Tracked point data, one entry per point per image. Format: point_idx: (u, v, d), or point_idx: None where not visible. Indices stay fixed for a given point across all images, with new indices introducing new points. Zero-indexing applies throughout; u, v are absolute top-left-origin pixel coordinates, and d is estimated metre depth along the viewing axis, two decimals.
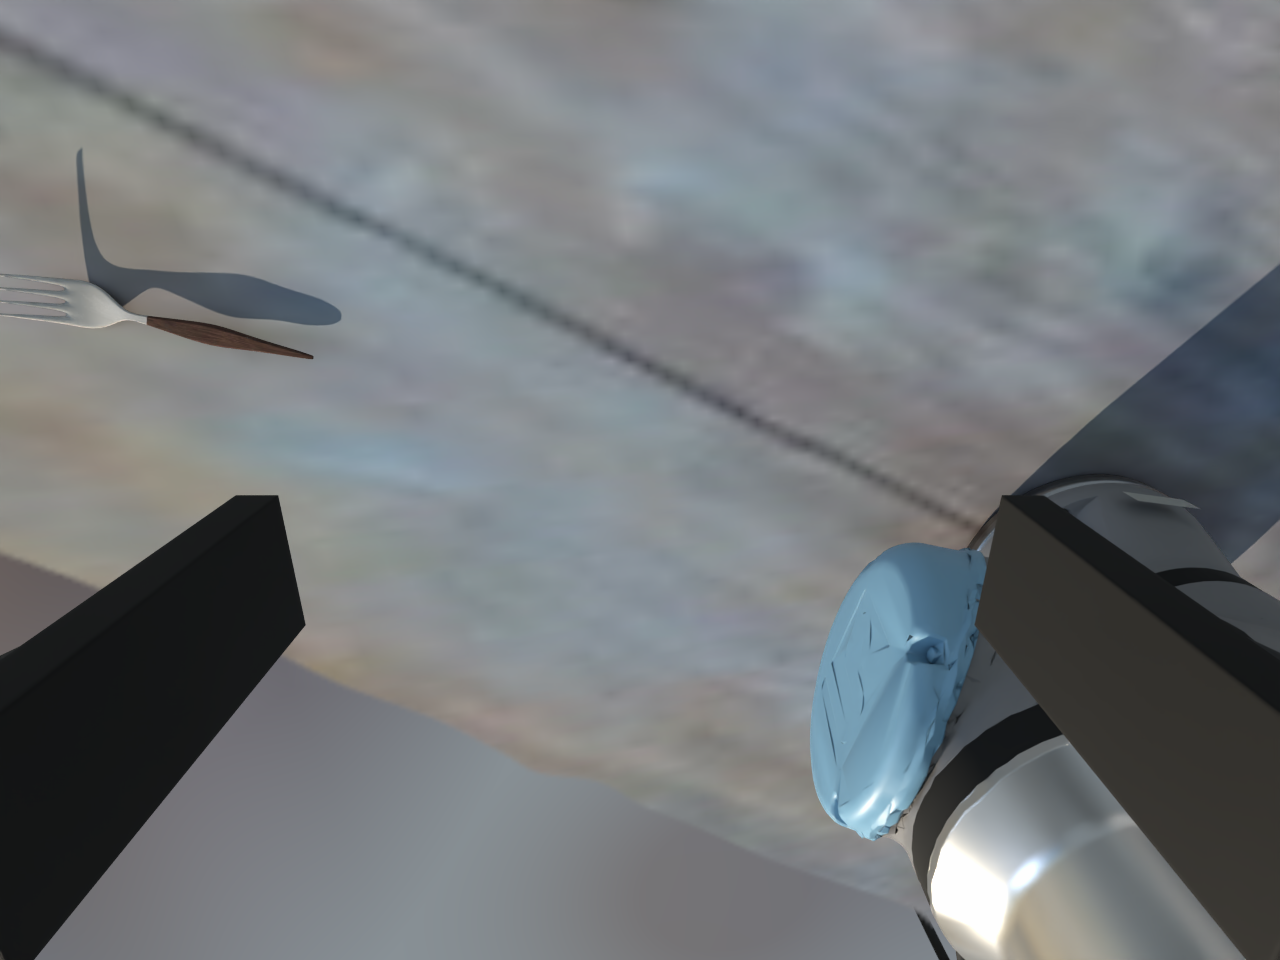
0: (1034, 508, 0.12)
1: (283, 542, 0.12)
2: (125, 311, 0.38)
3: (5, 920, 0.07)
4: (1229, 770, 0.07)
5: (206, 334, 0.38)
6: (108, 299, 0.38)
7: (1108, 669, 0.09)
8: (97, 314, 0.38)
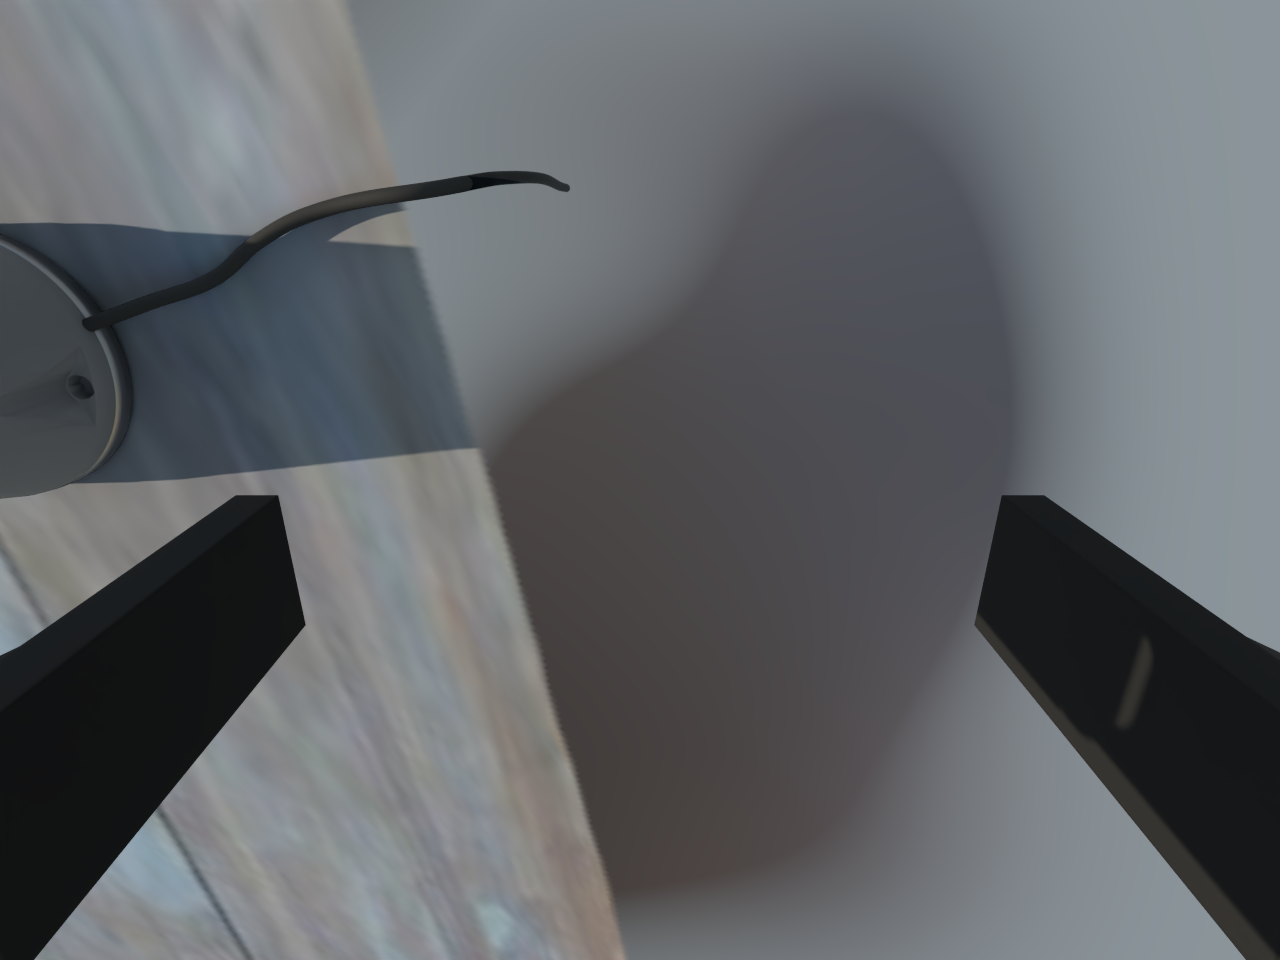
0: (1034, 508, 0.12)
1: (283, 541, 0.12)
2: None
3: (5, 920, 0.07)
4: (1228, 770, 0.07)
5: None
6: None
7: (1108, 669, 0.09)
8: None
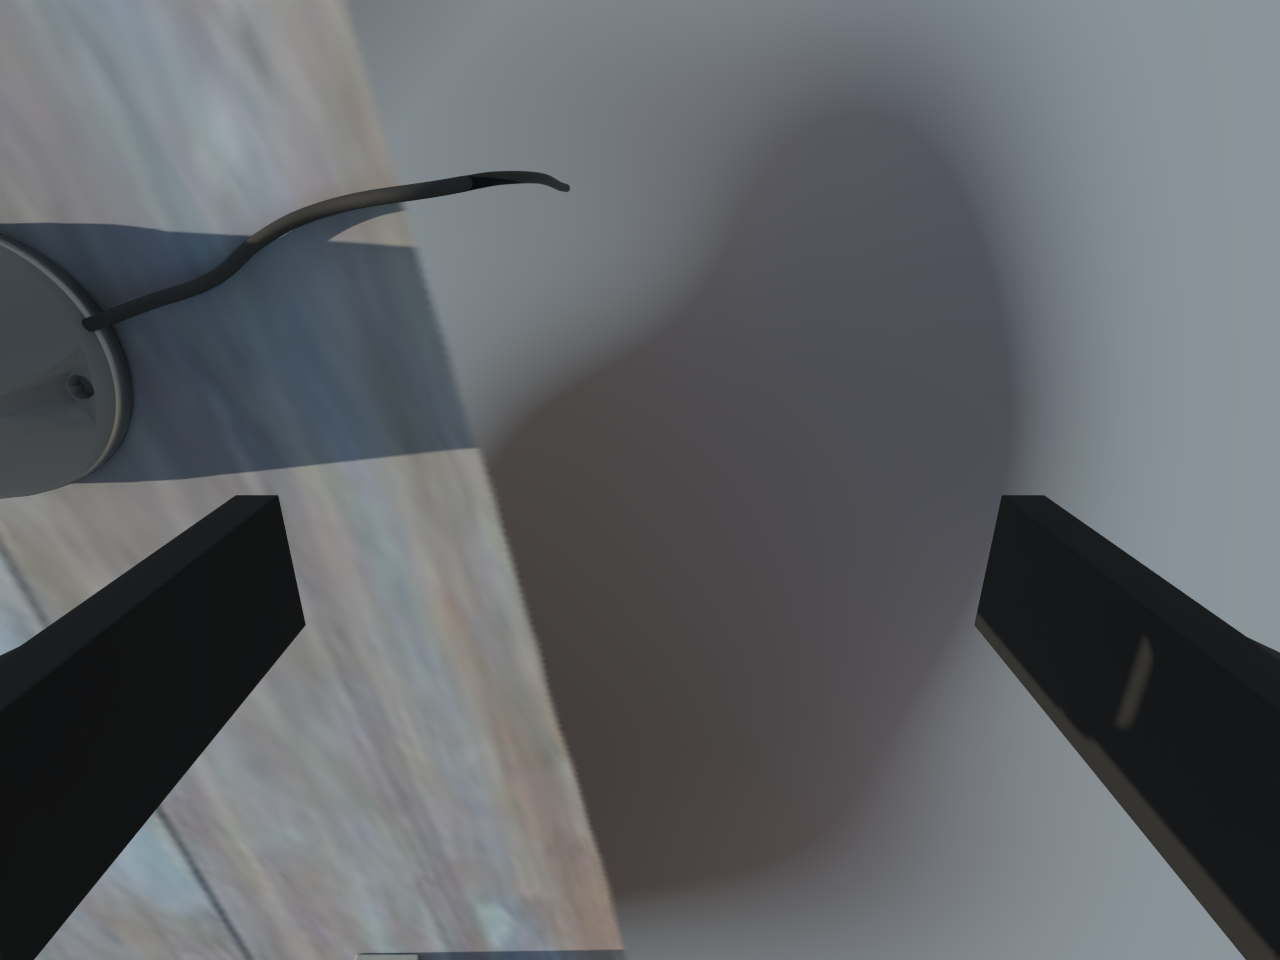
0: (1034, 508, 0.12)
1: (283, 541, 0.12)
2: None
3: (5, 920, 0.07)
4: (1228, 770, 0.07)
5: None
6: None
7: (1108, 669, 0.09)
8: None
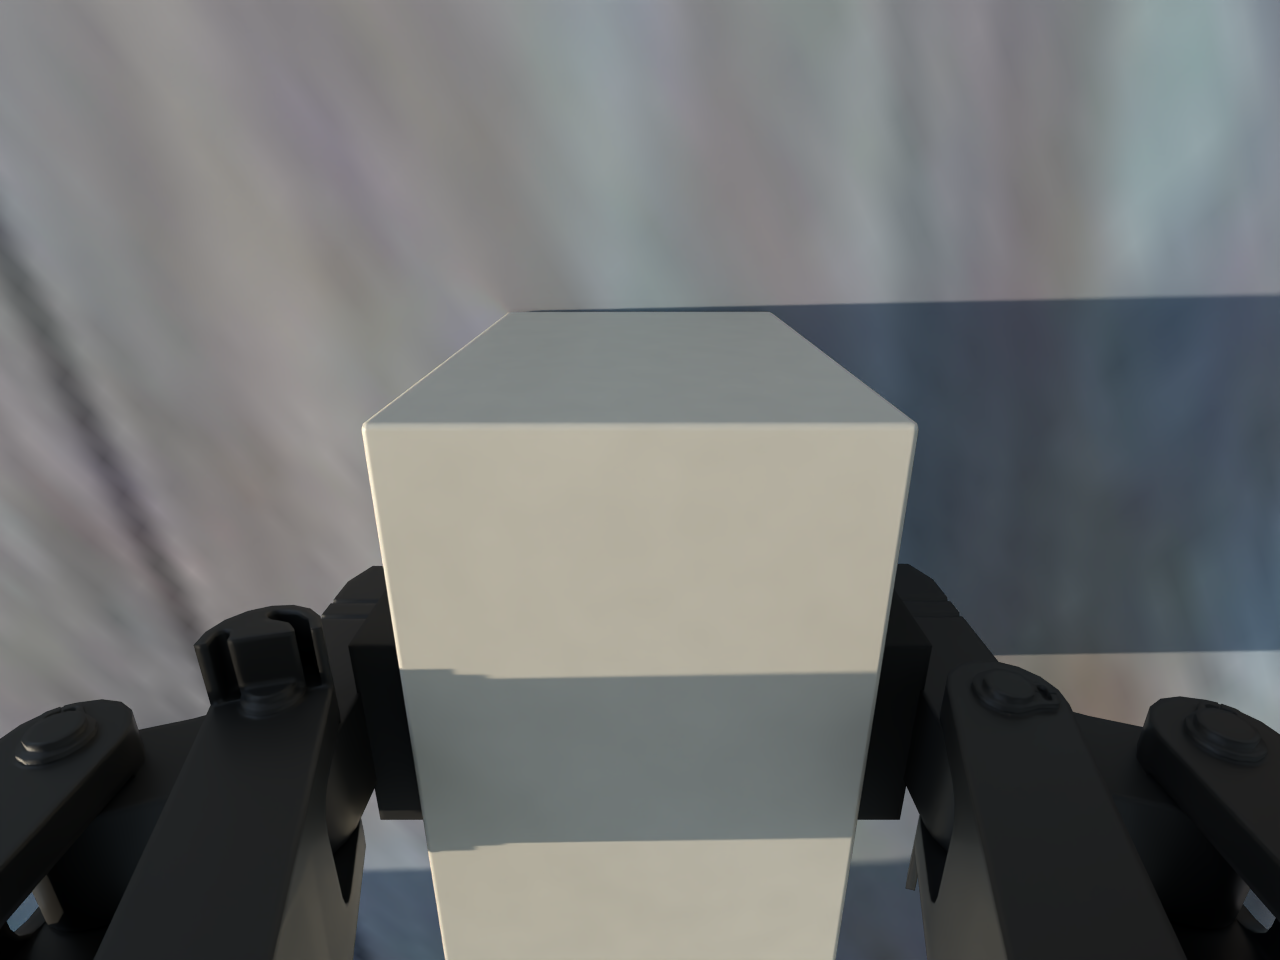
0: None
1: None
2: None
3: None
4: None
5: None
6: None
7: None
8: None
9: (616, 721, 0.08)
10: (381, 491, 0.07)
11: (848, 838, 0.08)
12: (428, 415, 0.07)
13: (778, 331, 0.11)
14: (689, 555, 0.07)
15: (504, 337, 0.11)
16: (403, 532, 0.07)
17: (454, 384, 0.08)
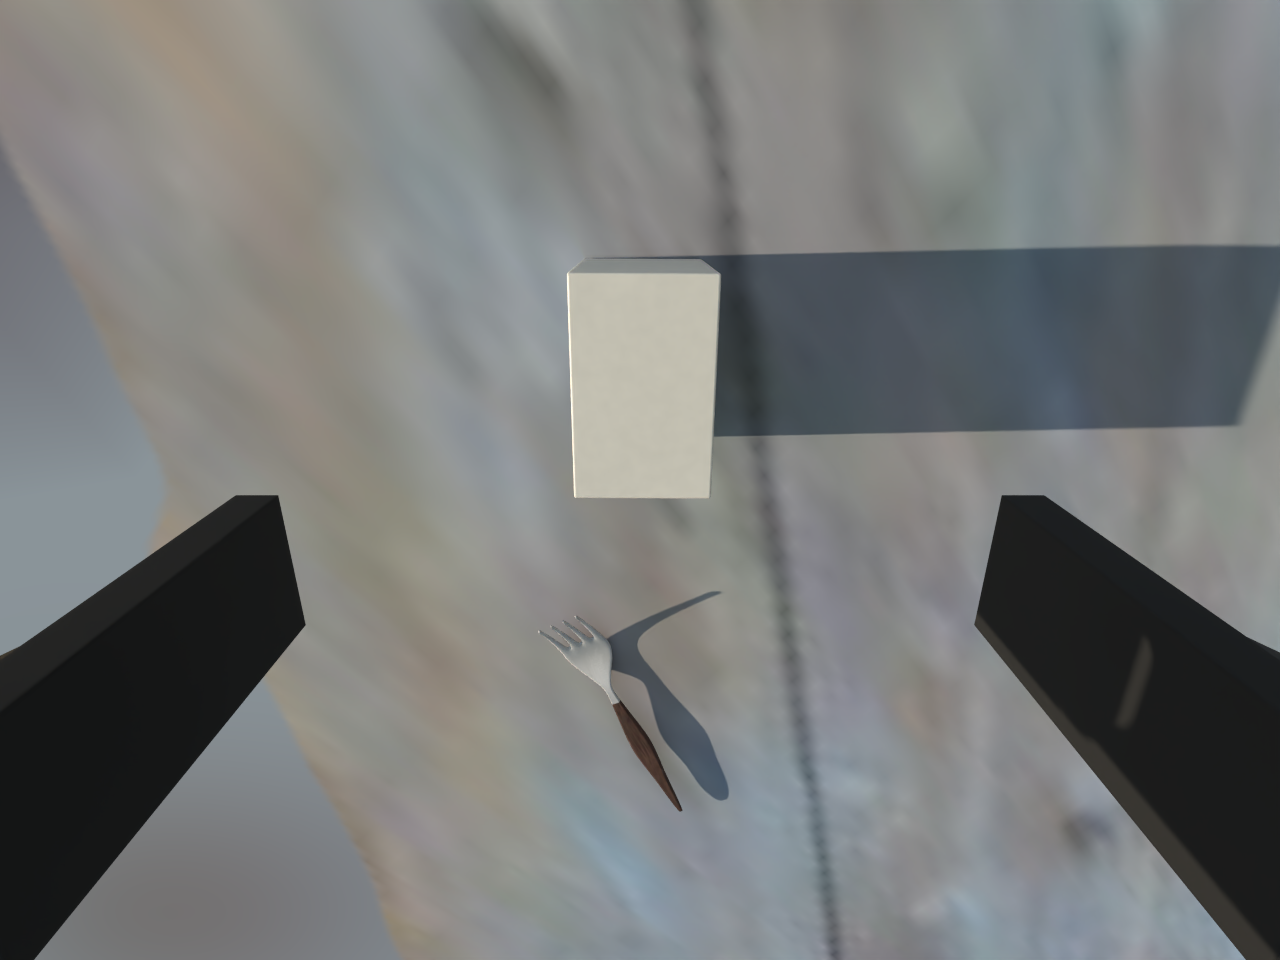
0: (1034, 508, 0.12)
1: (283, 542, 0.12)
2: (610, 685, 0.38)
3: (5, 920, 0.07)
4: (1229, 770, 0.07)
5: (641, 746, 0.39)
6: (608, 666, 0.38)
7: (1108, 669, 0.09)
8: (587, 663, 0.38)
9: (636, 373, 0.24)
10: (571, 293, 0.23)
11: (711, 421, 0.25)
12: (584, 272, 0.23)
13: (698, 262, 0.28)
14: (657, 314, 0.24)
15: (590, 263, 0.28)
16: (576, 306, 0.24)
17: (585, 269, 0.25)
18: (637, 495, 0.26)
